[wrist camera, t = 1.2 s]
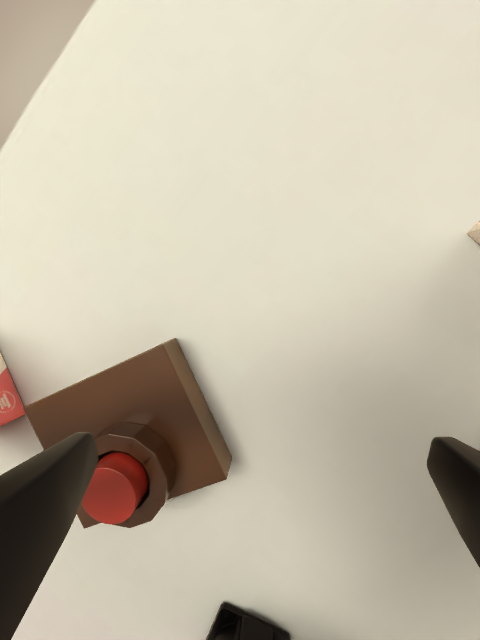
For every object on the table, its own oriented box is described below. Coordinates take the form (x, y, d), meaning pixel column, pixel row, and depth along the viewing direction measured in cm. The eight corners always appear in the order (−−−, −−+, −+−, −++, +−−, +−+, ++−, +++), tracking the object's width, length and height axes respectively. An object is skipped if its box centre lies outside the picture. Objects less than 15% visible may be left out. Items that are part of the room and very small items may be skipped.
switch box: (232, 457, 23) (222, 498, 18) (104, 503, 25) (67, 550, 21) (175, 337, 22) (151, 349, 18) (49, 395, 24) (-1, 418, 20)
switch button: (157, 494, 19) (145, 514, 18) (110, 511, 20) (95, 531, 18) (132, 444, 19) (118, 459, 18) (86, 462, 20) (68, 479, 18)
